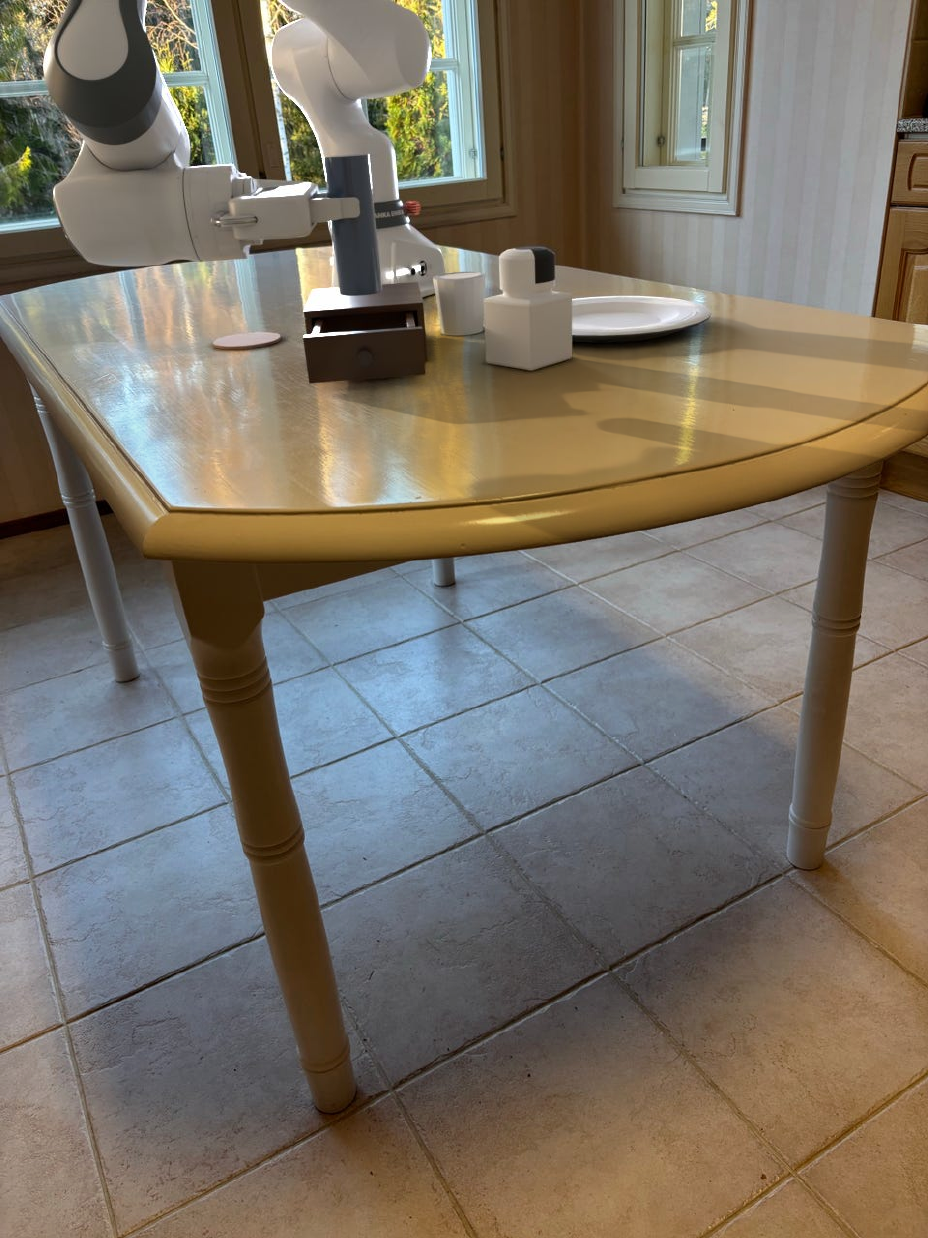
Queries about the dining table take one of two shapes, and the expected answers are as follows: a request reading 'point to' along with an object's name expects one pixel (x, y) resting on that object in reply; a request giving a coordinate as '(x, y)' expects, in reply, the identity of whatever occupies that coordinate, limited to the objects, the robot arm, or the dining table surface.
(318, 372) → the drawer
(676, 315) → the plate
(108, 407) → the dining table surface
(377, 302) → the cabinet
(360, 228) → the cylinder
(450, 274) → the white cup
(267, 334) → the coaster
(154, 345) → the dining table surface
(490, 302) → the medicine bottle
